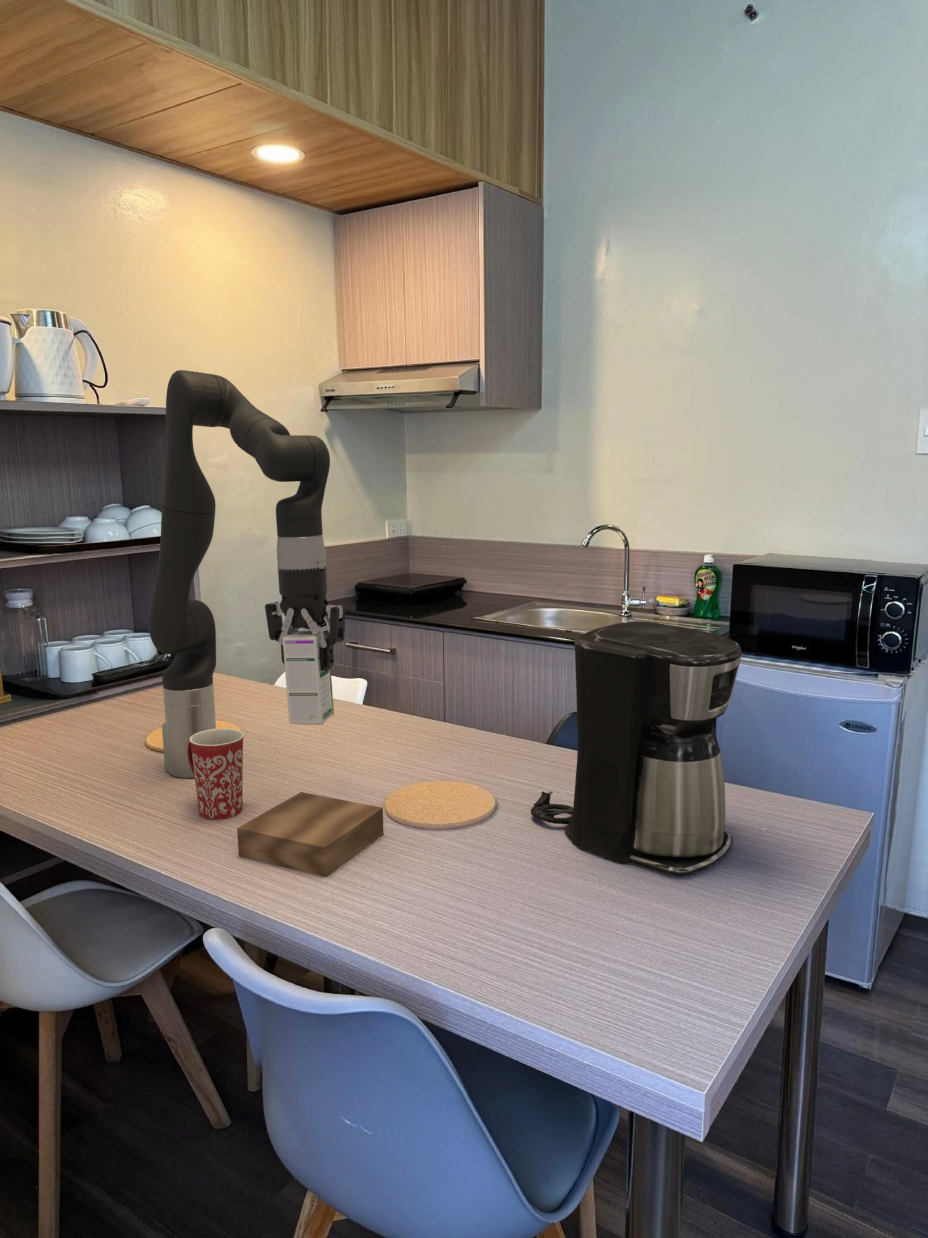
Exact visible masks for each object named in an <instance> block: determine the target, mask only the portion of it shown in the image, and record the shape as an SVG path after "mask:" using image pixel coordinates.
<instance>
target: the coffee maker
mask: <svg viewBox="0 0 928 1238" xmlns="http://www.w3.org/2000/svg"><path fill="white" fill-rule="evenodd" d="M741 659H742V647H741V646H740V644H739V643H738V642H737V641H735V640H733V639H731V638H729V637H727V636H723V635H719V634H717V633H712V632H709V631H703V630H700V629H699V630H698V629H693V628H688V627H682V626H677V625H672V624H671V625H670V624H665V623H659V622H651V621H643V620H641V621H639V620H635V621H627V622H619V623H613V624H609V625H606V626H602V627H597V628H594V629H592V630H589V631H587V632H584V633H582V634H580V635H578V636H577V637H576V638H575V642H574V661H575V662H574V664H575V689H576V691H575V693H576V719H577V720H576V722H577V751H576V753H577V755H576V766H575V767H576V768H575V769H576V770H575V782H574V796H573V797H574V798H573V806H571V805H568V804H560V803H551V802H550V801H551V795H553V793H554V792H553V791H548V792H546V791H541V795H540V796H539V798H538V799H537V800H536V802H535V803H533V806H532V807H531V808H530V815H531V816H532V817H533V818H535V819H538V820H541V821H542V822H546V823H550V824H553V825H554V824H556V825H567V826H566V829H565V831H564V834H565V835H566V836H567V838H568V840H570V841H571V842H572V843H573V844H575V846H576V847H578V848H581V849H583V850H585V851H587V852H590V853H593V854H595V855H597V856H600V857H602V858H604V859H607V860H609V861H612V862H615V863H618V864H622V865H623V864H633V865H636V866H639V867H642V868H646V869H651V870H653V871H656V872H660V873H662V874H667V875H671V876H675V877H684V876H690V875H692V874H696V873H698V872H701V871H703V870H704V871H705V870H706V869H708V868H709V867H711V866H714V865H715V864H716V863H717V862H719V861H720V860H721V859H722V858H723V857H724V856H725V857H726V855H727V853H728V852H729V851H730V849H731V848H732V845H733V841H734V837H733V836H732V834H731V833H730V832H729V831H726V830H725V828H726V827H725V824H726V787H725V786H726V785H725V775H724V767H723V766H724V764H723V758H722V750H721V749H720V746H719V741H718V737H717V732H716V728H715V723H716V720H717V719H718V718H719V717H721V716H723V715H724V714H725V713H726V711H727V709H728V707H729V704H730V702H731V700H732V699H731V698H732V695H733V691H734V688H735V684H736V681H737V676H738V673H739V672H738V671H739V667H740V664H741ZM548 810H550V811H551V812H547V813H546V812H545V811H548ZM552 810H555V811H552ZM562 814H571V816H567V817H555V816H559V815H562Z"/></svg>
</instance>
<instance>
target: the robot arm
mask: <svg viewBox="0 0 928 1238" xmlns="http://www.w3.org/2000/svg"><path fill="white" fill-rule="evenodd" d="M194 426H196V427H204V428H207V427H208V428H224V429H228V430H229V434H230V436H231V439H232V440H233V442H234V443H235V445H236V446H237V447H238V448H239V449H241V450H242V451H244V452H245V453H246V454H247V455H249V456H250V457H252V458H253V459H254V461H256V463H257V465H258V467H259V468H260V470H261V471H262V474H263V475H264V476H265V477H266V478H268V479H269V480H272V481H275V482H280V483H289V482H290V483H292V482H295V483H296V482H299V485H298V488H297V491H296V493H295V494H293V495H292V496H288V497H285V498H281V499H280V500H278V501H277V503H276V506H275V519H276V521H275V522H276V535H277V543H276V558H277V559H276V561H277V580H278V590H279V594H280V596H281V600H280V602H279V601H275V602H273V601H272V602H270V603H266V604H265V606H264V610H265V617H266V623H267V624H266V625H267V629H268V630H267V631H268V637H269V639H270V640H271V641H276V642H278V643H279V645H280V650H281V651H280V652H281V653H280V655H281V662H282V664H283V665H284V667H285V663H284V650H283V638H284V637H285V636H288V635H290V634H292V633H294V632H297V631H298V630H301V628H302V629H304V630H309V629H310V630H311V632H312V634H313V635H314V636H317V637H318V642H319V644H320V646H321V648H319V650H320V666H321V670H323V671H327V670H329V669H332V667H333V666H334V663H335V657H334V656H335V655H334V654H335V653H334V646H335V645H337V644H339V643H342V642H344V641H345V630H346V629H345V628H346V627H345V625H346V623H345V622H346V607H345V605H343V604H340V605H339V604H338V605H333V604H329V602H328V599H327V593H328V576H327V575H328V574H327V557H326V556H327V555H326V546H325V543H324V536H323V519H322V518H323V517H322V515H323V514H322V507H323V504H324V503H323V502H324V497H325V493H326V488H327V483H328V478H329V474H330V473H329V471H330V468H331V466H330V465H331V457H330V456H331V455H330V453H329V452H330V451H329V449H328V446H327V445H326V443H325V442H324V440H322V439H321V437H318V436H316V435H309V434H308V435H307V434H306V435H299V434H298V435H296V434H295V435H294V434H293V435H291V433H290V431H289V430H288V428H286V427H285V425H283V424H282V423H281V422H280V421H278V420H276V419H274V418H273V417H272V416H270V415H268V414H266V413H265V412H263V411H261V410H260V409H259V408H257V407H255V406H254V405H253V404H252V403H251V402H250V400H248V398H247V397H246V396H245V395H243V392H241V391H240V390H239V389H238V388H237V387H236V386H235V385H234V384H233V383H232V382H231V381H230V380H229V379H227V378H226V377H223V376H221V375H218V374H213V373H206V372H198V371H192V370H187V369H186V370H185V369H178V370H175V371H174V372H173V373H172V375H171V376H170V378H169V380H168V384H167V388H166V395H165V431H166V432H165V435H166V436H165V437H166V441H165V443H166V446H165V447H166V455H165V456H166V457H165V458H166V459H165V474H164V485H163V486H164V488H163V494H162V495H163V496H162V504H161V505H162V506H161V507H162V508H161V520H160V521H161V522H160V542H159V543H160V544H159V553H158V560H157V561H158V563H157V572H156V578H155V579H156V580H155V586H154V592H153V596H152V602H151V607H150V613H149V620H148V629H149V630H148V631H149V636H150V640H151V642H152V644H153V647H155V649H156V650H158V651H159V652H160V653H162V654H165V655H175V657H174V658H173V660H172V662H171V663H170V664H169V666H167V668H165V669H164V671H163V672H162V677H161V681H162V682H161V683H162V691H163V692H162V693H163V706H164V718H165V722H164V723H163V724H162V725H161V730H162V731H161V732H162V745H163V758H164V771H165V772H166V773H167V772H168V773H169V774H170V775H171V776H172V777H176V778H181V779H182V778H184V779H185V778H186V779H188V778H189V779H191V778H195V777H194V775H193V772H192V770H191V767H190V764H189V759H188V752H187V749H188V743H189V739H190V737H191V736H192V735H194V734H196V733H198V732H202V731H206V730H211V729H217V724H216V723H217V722H216V710H215V709H216V706H215V693H214V673H215V670H216V665H217V632H216V631H217V630H216V629H217V627H216V623H215V617H214V615H213V612H212V610H211V609H210V607H209V606H208V605H207V604H206V603H204V602H203V601H202V600H198V599H190V593H191V588H192V587H191V586H192V583H193V580H194V577H195V574H196V573H197V571H198V569H199V567H200V565H201V563H202V561H203V560H204V557H205V555H206V554H207V551H208V549H209V548H210V546H211V543H212V540H213V537H214V529H215V519H216V506H217V505H216V498H215V495H214V492H213V490H212V488H211V486H210V484H209V482H208V480H207V478H206V477H205V475H204V472H203V470H202V468H201V467H200V465H199V462H198V460H197V456H196V454H195V453H196V452H195V449H194V439H193V431H194ZM282 614H283V615H284V616H285V619H284V620H283V616H282ZM326 616H327V617H326ZM327 618H329V622H328V620H327Z"/></svg>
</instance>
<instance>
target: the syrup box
mask: <svg viewBox="0 0 928 1238" xmlns="http://www.w3.org/2000/svg"><path fill="white" fill-rule="evenodd" d="M319 648H321V646H320V644H319V642H318V637H317V636H314V635H313V634H312V632H311V630H310V629H299V630H298V631H297V632H294V633H292V634H290V635H288V636H285V637H284V638H283V650H284V663H285V666H284V672H285V685H286V687H285V688H286V698H287V699H286V700H287V709H288V711H287V712H288V721H289V724H290V725H298V726H299V725H302V726H323V725H324V723H325V722H326V721H328V720H329V719H330V718H332V717H334V715H335V711H334V697H333V695H334V694H333V683H332V670H331V669H332V668H331V669H329V670H327V671H323V670H321V666H320V650H319Z"/></svg>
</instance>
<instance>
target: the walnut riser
mask: <svg viewBox="0 0 928 1238" xmlns="http://www.w3.org/2000/svg"><path fill="white" fill-rule="evenodd" d="M236 829H237V831H236V832H237V833H236V835H237V848H238V849H237V850H238V851H237V852H238V857H240V858H244V859H248V860H252V861H256V862H260V863H265V864H268V865H272V866H278V867H282V868H286V869H289V870H295V871H299V872H302V873H307V872H308V873H307V874H311V875H315V876H319V875H320V877H323V876H325V877H324V878H327V877H328V876H330V875H331V874H333V872H335V871H337V869H340V867H341V866H344V864H346V863H347V862H349V861H350V860H351V859H353V858H354V857H355V856H356V855H358V854H359V853H361V852H362V851H363V850H364V849H366V848H368V846H369V847H370V845H371V844H373V843H374V842H376V841H377V840H378V839H379V838H381V837H382V836H384V832H385V831H384V808H383V807H382V806H377V805H373V804H372V805H371V804H365V803H360V802H355V801H350V800H344V799H340V798H335V797H329V796H325V795H319V794H313V793H308V792H302V791H300V792H298V793H297V794H295V795H293V796H292V797H290V798H288V799H286V800H284V801H282V802H281V803H279V804H277V805H275V806H272V808H270V809H268V810H266V811H264V812H263V813H261V814H260V815H257V816H256V817H254V818H252V819H250V820H249V821H247V822H245V823H243V824H242V825H240V826H237V827H236Z"/></svg>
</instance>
